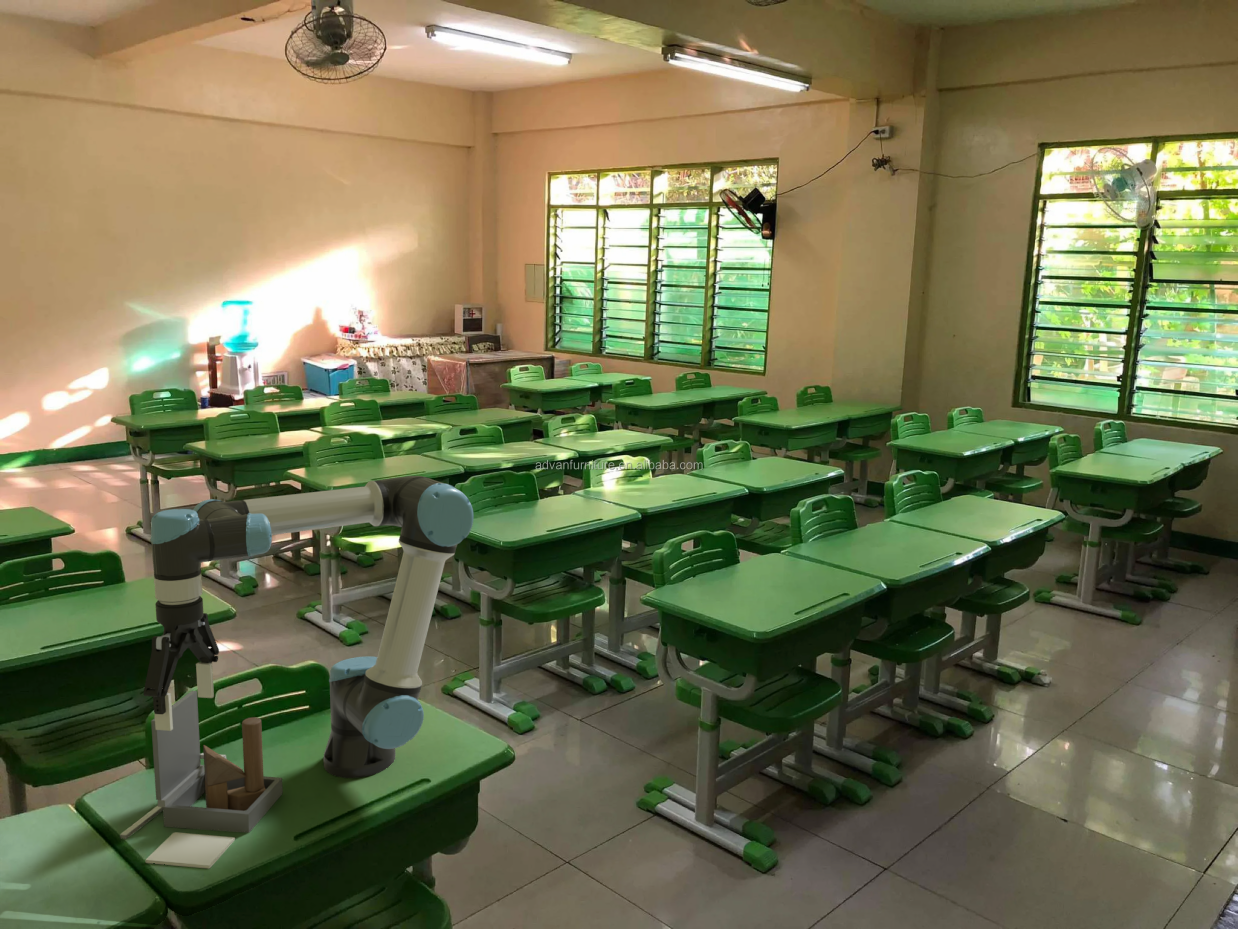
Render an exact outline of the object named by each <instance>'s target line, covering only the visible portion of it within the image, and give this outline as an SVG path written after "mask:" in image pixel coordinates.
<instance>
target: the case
mask: <svg viewBox="0 0 1238 929" xmlns="http://www.w3.org/2000/svg"><path fill="white" fill-rule="evenodd" d="M198 706H199V705H198V690H191V691H190V692H188V693H187V694H186V695H184V696H183V697H182V698H180V699H179V700H178V701H176V702H174V703H173V704H172V720H173V729H172V730H171V731H166V730H156V728H155V717H154V718H153V719H151V722H150V723H151V724H150V725H151V736H152V738H151V739H152V740H151V741H152V753H153V754H152V756H153V769H154V770H153V772H154V784H155V800H157V806H158V807H163V811H162V812H163V814H162V815H163V827H169V828H177V829H179V828H180V829H191V830H202V831H203V830H205V831H217V832H219V831H220V832H231V833H233V832H234V833H251V831H252V830H253V829H254V828H255V826H257V824H258V823H259V822H260V821H261V820H262V818H264V816H265V815H266V814H267V813H268V812H269V810H270V809H271V808H272V807H273V806H274V804H276V802H277V801H278V800H279V799H280V798H281V796H282V795H283V792H284V791H283V777H276V776H265V775H263V776H264V786H265V789H266V790H265V791H264V792H263V793H262V794H261V795H260V797H259V798H258V799H257V800H256V801H255V802H254V803H253V804H252V805H251V806H250V807H249V808H248V809H247V810H245V811H240V810H228V809H216V808H206V807H204V806H193V804H195V803H196V802H197V801H198V800H199V799H200V798H201V797H202V796H203V795H204V794H206V793H205V772H204V764H201V760H204V753H203V752H202V753H201V747H200V746H201V745H200V744H201V743H200V742H201V741H200V729H199V728H200V727H199V726H200V725H199V708H198ZM218 754H219V753H218ZM219 755H221V756H222V757H224V758H226V759H227V754H219ZM227 760H228V759H227ZM240 787H245V781H244V778H240V779H236V780H232V781H227V790H232V789H236V788H240Z"/></svg>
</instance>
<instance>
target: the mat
mask: <svg viewBox="0 0 1238 929" xmlns="http://www.w3.org/2000/svg"><path fill="white" fill-rule="evenodd" d="M235 840H236V838H235V837H233V836H222V835H221V836H220V835H211V834H209V835H208V834H201V833H199V834H198V833H186V832H172V833H171V835H169V837H167V838H166V839H165V840H164V841H163V842H162V843H161V844H160V845H159V846H158V847H157V848H156V849H155V850H154V851H153V852H152V853H151V854H149V856H148V857H147V858H146V859H145V863H146V864H153V863H155V864H156V865H164V864H165V866H167V865H168V866H177V867H178V866H179V867H189V868H200V869H208V870H209V869H211V868H212V866H214V864H215V863H216V862H217V861H218V860H219V859H220V858H221V857H222V855H224V853H225V852H226V851H227V849H229V847H230V846H231V845H232V844H233V843H234V842H235ZM155 864H154V865H155Z"/></svg>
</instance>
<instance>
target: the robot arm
mask: <svg viewBox="0 0 1238 929" xmlns="http://www.w3.org/2000/svg"><path fill="white" fill-rule="evenodd" d="M365 523H369V524H370V525H372V526H373V527H380V526H393V527H394V526H396V527H398V528H401V530H400V533H399V539H398V543H399V545H400V546H401V548H402V550H403V553H402V558H401V560H400V566H399V568H398V572H397V573H398V574H397V576H396V581H395V585H394V588H393V589H394V590H393V593H392V595H391V596H392V597H391V601H390V604H389V605H390V606H389V609H388V613H387V618H386V621H385V625H384V629H383V632H382V637H381V640H380V644H379V647H378V648H379V649H378V653H377V656H370V655H369V656H356V657H352V658H345V659H343V660H340V661H338V662H336V663H334V664H333V665H332V666H331V667H330V670H329V679H328V682H329V695H330V696H329V697H330V699H329V700H330V701H329V703H330V728H331V729H330V733H329V738H328V740H327V742H326V747H325V750H324V752H323V768H324V770H325V771H326V772H327V773H328V774H330V775H332V776H335V777H338V778H344V779H357V778H360V779H361V778H364V777H365V778H366V777H370V776H373V775H376V773H377V774H379V773H382V772H384V771H385V770H387V769H388V768H390V767H391V766H392V765H393V764H394V762H395V761H394V760H396V757H395V756H396V749H397V748H400V747H402V746H404V745H406V744H407V743H408V742H409V741H411V740H413V739H414V737H416V735H418V733H419V731H420V729H421V728H422V725H423V722H424V718H425V717H424V716H425V714H424V713H425V712H424V708H423V706H422V704H421V702H420V701H419V697H420V694H421V691H422V690H421V689H422V686H423V681H422V679H421V678H420V676H419V674H418V672H419V671H418V670H419V666H420V662H421V659H422V654H423V651H424V648H425V642H426V640H427V636H428V631H429V627H430V622H431V619H432V615H433V611H434V607H435V602H436V600H437V594H438V591H439V587H440V583H441V579H442V575H443V572H444V568H445V564H446V561H448V559H450V558H451V557H453V556H455V553H456V551H457V550H456V549H457V547H458V544H461V542H462V541H463V540H464V539H466V538H467V537H468V536H469V534H470V533H471V531H472V528H473V525H474V509H473V506H472V503H471V502H470V500H469V498H468V497H467V496H466V495H465V493H463V492H462V491H461V490H460V489H457V488H456V487H454V486H453V485H451V484H448V483H444V482H441V481H438V480H436V479H435V480H434V479H432V478H429V477H427V476H423V475H407V476H399V477H392V478H385V479H378V480H377V479H376V480H369V481H368V482H367V483H366V484H365V486H359V487H356V486H355V487H349V488H347V487H346V488H341V489H340V488H338V489H331V490H321V491H314V492H313V491H312V492H305V493H304V492H303V493H296V494H295V493H293V494H286V495H278V496H277V495H276V496H269V497H268V496H267V497H260V498H259V497H258V498H257V497H256V498H250V499H241V500H232V501H222V500H220V499H214V498H213V499H211V498H210V499H205V500H202V501H201V502H199V503H197V505H195V507H193V509H191V508H178V509H177V508H173V509H167V510H166V509H165V510H161V511H159V512H156V513H155V514H154V515H153V516H152V518H151V521H150V531H151V532H150V543H151V554H152V555H151V556H152V569H153V578H154V579H153V584H154V595H155V596H154V597H155V599H156V602H155V615H156V617H155V618H156V622H157V623H158V624H159V625H161V626H162V627H163V632H162V635H161V636H152V638H151V654H150V659H149V664H148V668H147V672H146V678H145V683H144V688H143V696H144V697H151V698H152V702H153V704H152V705H153V713H154V718H155V728H156V730H166V731H171V730H172V729H173V720H172V705H173V704H172V693H171V692H169V689H170V685H171V683H172V679H173V676H174V674H175V671H176V668H177V664H178V661H179V659H181V658H182V657H183V655H184V652H185V651H186V650H187V649H189V650H190V651H191V653H192V654H193V655H194V656H195V657H196V659H197V660H198V662H196V663H195V667H196V668H195V669H196V684H197V685H196V688H197V698H203V699H206V698H207V699H213V698H214V697H215V694H214V692H215V691H214V673H213V663H217V662H218V660H219V653H220V649H219V646H218V643H217V642H216V639H215V637H214V634H213V631H212V629H211V626H210V623H209V616H208V613H205V612H204V600H203V597H202V595H203V582H202V563H208V562H215V561H222V560H230V559H238V558H247V557H249V558H250V557H253V556H257V555H263V554H265V553H268V552H269V550H270V548H271V546H272V541H273V536H274V535H275V536H276V535H282V534H284V535H285V534H290V533H297V532H305V531H306V532H307V531H314V530H322V529H328V528H338V527H343V526H344V527H345V526H351V525H353V526H354V525H360V524H365ZM392 763H393V764H392ZM391 764H392V765H391ZM390 765H391V766H390ZM389 766H390V767H389ZM386 768H387V769H386Z"/></svg>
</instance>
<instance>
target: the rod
mask: <svg viewBox="0 0 1238 929" xmlns="http://www.w3.org/2000/svg"><path fill="white" fill-rule="evenodd" d="M162 812H163V807H158V805H156V806H155V807H153V808H152V809H151V810H150V811H149V812H147V813H146V814H145V815H143V816H142V817H141V818H139V819H138V820H137V821H136V822H134V823H133V824H132V825H131V826H129V827H128V828H127V829H125V830H123V831H122V832H121V833H120V834H119V838H120V839H121V840H127V839H129V838H130V837H131V836H132V835H134V834H135V833H136V832H137V831H138V830H141V828H142V827H144V826H145V825H146V824H148V823H149V822H150V821H152V820H153V819H154V818H155V817H157V816H158V815H159V814H160V813H162ZM133 833H134V834H133ZM122 838H123V839H122Z"/></svg>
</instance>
